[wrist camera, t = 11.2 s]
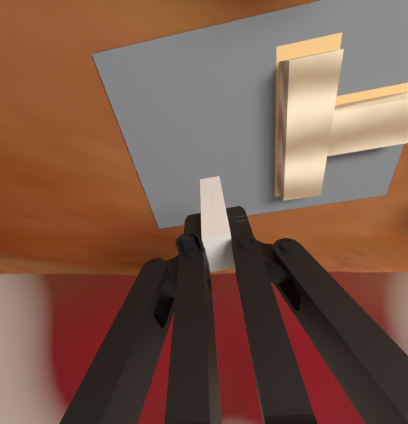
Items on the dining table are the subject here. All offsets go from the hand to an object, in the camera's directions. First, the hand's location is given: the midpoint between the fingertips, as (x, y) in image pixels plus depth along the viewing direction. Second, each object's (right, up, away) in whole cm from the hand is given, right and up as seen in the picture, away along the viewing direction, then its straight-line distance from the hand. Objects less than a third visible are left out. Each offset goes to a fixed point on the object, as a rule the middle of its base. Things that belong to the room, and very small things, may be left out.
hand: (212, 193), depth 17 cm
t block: (+16, +9, +10) cm, 21 cm away
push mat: (+7, +8, +11) cm, 15 cm away
